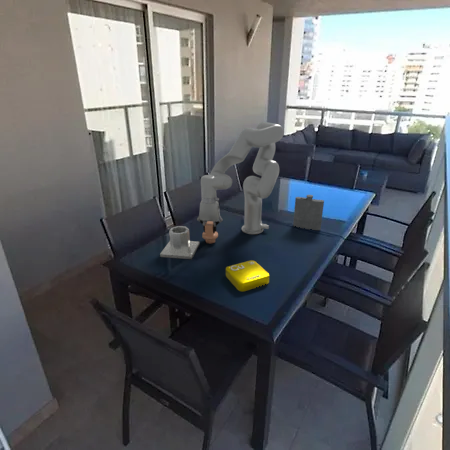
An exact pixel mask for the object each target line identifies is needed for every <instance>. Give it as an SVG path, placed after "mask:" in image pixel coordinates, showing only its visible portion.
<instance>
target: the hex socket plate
mask: <svg viewBox="0 0 450 450" xmlns="http://www.w3.org/2000/svg"><path fill="white" fill-rule="evenodd" d="M168 232H169V233H168V234H169V241H168V243H167V244H166V245H165V247H164V248H163V249H162V251H161V252H160V254H159V255H160V256H159V257H161V258H170V259H180V260H181V259H183V260H193V257H194V256H195V255H196V252H197V250H198V249H199V247H200V243H201V242H200V241H198V240H197V241H193V240H191V237H190V229H189V228H188V227H187V226H185V225H184V226H183V225H177V226H174V227H171V228H170V229H169V230H168Z"/></svg>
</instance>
